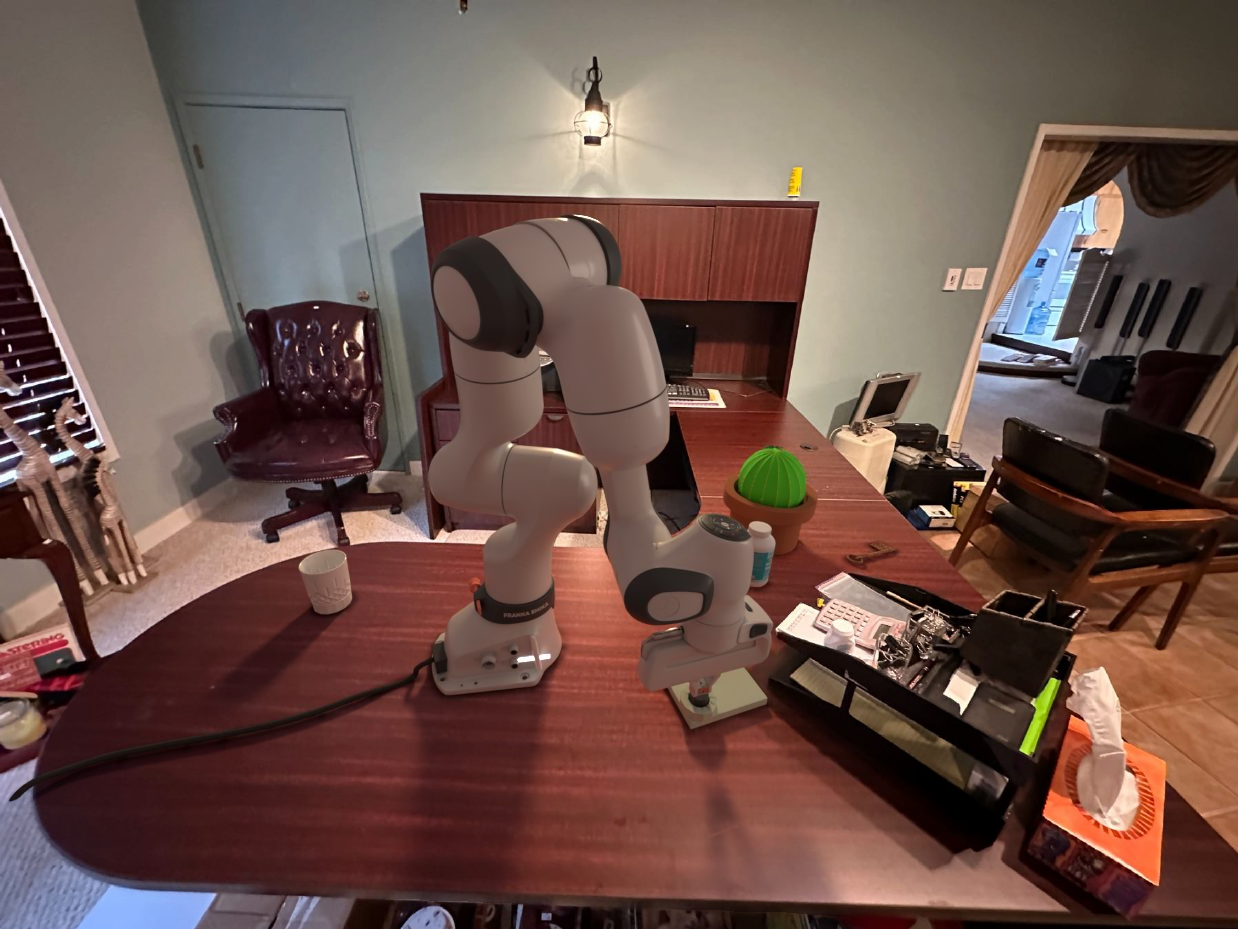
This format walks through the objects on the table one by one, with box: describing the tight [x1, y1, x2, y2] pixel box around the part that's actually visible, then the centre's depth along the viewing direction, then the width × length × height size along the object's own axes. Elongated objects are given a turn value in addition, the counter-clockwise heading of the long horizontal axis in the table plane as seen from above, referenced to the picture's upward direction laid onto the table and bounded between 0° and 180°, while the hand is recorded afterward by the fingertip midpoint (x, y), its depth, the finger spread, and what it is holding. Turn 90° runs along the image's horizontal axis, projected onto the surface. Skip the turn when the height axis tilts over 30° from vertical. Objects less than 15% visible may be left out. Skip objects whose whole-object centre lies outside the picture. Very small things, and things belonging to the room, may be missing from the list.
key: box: [846, 541, 897, 565], centre depth 121 cm, size 6×1×15 cm
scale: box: [667, 667, 768, 730], centre depth 82 cm, size 14×12×3 cm
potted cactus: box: [722, 444, 819, 556], centre depth 121 cm, size 22×22×25 cm
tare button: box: [690, 693, 709, 708], centre depth 77 cm, size 3×3×2 cm
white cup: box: [298, 549, 353, 615], centre depth 96 cm, size 8×8×10 cm
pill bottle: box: [747, 521, 775, 588], centre depth 108 cm, size 8×7×14 cm
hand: (699, 691), depth 75 cm, fingers closed
